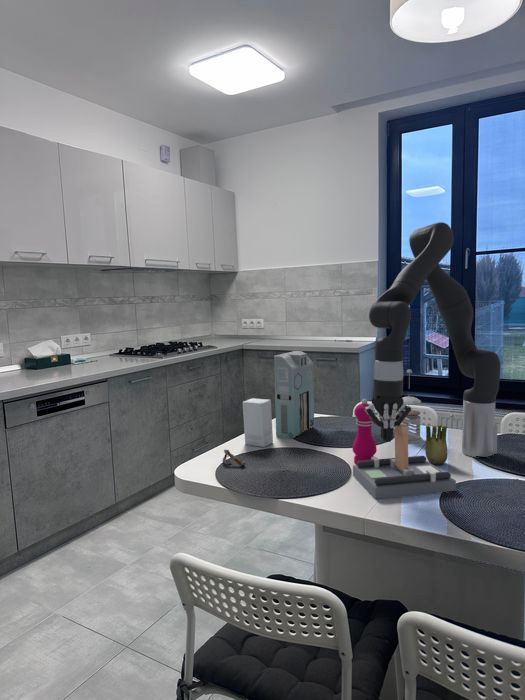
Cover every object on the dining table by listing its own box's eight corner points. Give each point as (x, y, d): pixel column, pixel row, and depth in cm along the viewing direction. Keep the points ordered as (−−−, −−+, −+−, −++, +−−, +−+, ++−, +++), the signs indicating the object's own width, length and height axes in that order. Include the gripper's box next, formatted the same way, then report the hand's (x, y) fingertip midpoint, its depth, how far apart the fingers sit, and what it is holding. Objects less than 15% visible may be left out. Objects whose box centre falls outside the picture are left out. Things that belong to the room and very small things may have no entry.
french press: (427, 443, 160) (428, 371, 157) (393, 443, 160) (394, 372, 157) (418, 434, 170) (419, 367, 167) (386, 435, 170) (386, 367, 167)
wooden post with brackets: (222, 458, 147) (226, 447, 145) (241, 473, 143) (246, 461, 142) (219, 460, 145) (223, 448, 144) (238, 474, 142) (242, 462, 140)
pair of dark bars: (423, 460, 135) (423, 452, 135) (452, 480, 120) (453, 471, 120) (355, 465, 132) (355, 458, 132) (376, 487, 117) (376, 478, 117)
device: (293, 439, 168) (292, 356, 165) (275, 436, 172) (274, 355, 169) (314, 427, 182) (313, 351, 178) (297, 425, 186) (295, 350, 182)
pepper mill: (377, 467, 138) (377, 401, 136) (352, 466, 140) (352, 401, 138) (376, 459, 145) (376, 396, 143) (352, 458, 147) (352, 396, 145)
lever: (400, 466, 129) (398, 420, 128) (410, 474, 123) (409, 426, 122) (394, 467, 129) (392, 421, 127) (403, 475, 123) (402, 427, 122)
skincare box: (273, 442, 164) (272, 399, 162) (263, 448, 159) (262, 403, 157) (253, 439, 169) (252, 397, 167) (243, 444, 163) (242, 401, 161)
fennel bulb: (423, 463, 141) (424, 424, 140) (430, 458, 145) (431, 421, 143) (442, 467, 137) (443, 428, 136) (449, 463, 141) (450, 424, 140)
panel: (424, 469, 136) (424, 452, 136) (455, 491, 120) (456, 472, 120) (352, 475, 133) (352, 458, 132) (375, 499, 117) (375, 479, 116)
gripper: (405, 374, 127) (403, 435, 129) (359, 375, 125) (358, 438, 127) (418, 378, 120) (416, 444, 122) (369, 380, 118) (368, 446, 120)
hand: (386, 441), depth 125 cm, fingers closed
